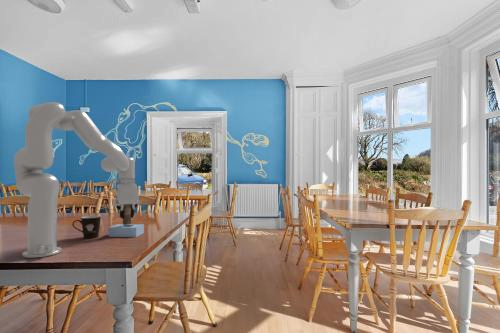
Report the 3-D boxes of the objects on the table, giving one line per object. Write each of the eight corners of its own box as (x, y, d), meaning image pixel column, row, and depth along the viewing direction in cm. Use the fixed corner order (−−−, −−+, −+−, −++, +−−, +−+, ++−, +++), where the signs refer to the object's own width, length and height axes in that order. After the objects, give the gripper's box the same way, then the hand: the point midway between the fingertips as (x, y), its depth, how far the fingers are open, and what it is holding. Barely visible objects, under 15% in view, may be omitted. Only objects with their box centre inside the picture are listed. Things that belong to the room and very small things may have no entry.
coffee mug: (104, 235, 151) (104, 215, 152) (94, 239, 143) (94, 218, 143) (82, 235, 153) (82, 215, 153) (71, 239, 144) (71, 218, 144)
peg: (132, 224, 153) (132, 204, 153) (124, 225, 150) (124, 204, 150) (129, 222, 156) (129, 203, 156) (121, 223, 153) (121, 204, 153)
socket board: (143, 233, 157) (143, 224, 157) (136, 236, 148) (136, 227, 148) (117, 232, 158) (117, 224, 158) (108, 236, 149) (108, 227, 149)
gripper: (111, 182, 145) (112, 220, 145) (145, 181, 156) (146, 216, 156) (107, 182, 151) (107, 218, 151) (140, 180, 162) (140, 215, 162)
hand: (127, 217), depth 153 cm, fingers closed on peg, 4 cm apart
